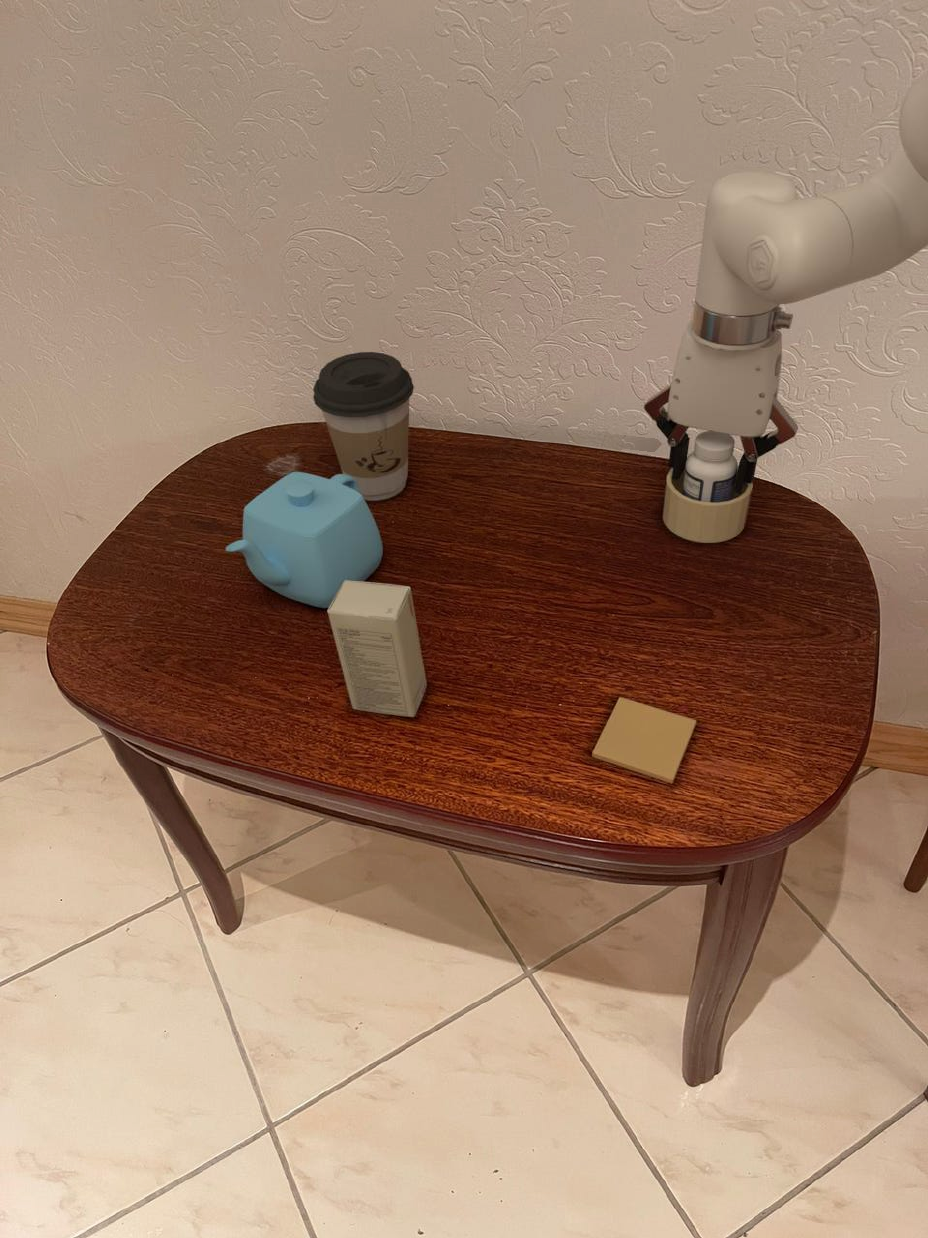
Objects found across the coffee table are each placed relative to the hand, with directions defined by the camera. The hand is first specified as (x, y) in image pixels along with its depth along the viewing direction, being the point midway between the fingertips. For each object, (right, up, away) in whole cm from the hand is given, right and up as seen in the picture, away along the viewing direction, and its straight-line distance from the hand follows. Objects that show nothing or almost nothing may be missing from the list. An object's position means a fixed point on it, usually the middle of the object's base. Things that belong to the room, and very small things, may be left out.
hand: (709, 478), depth 96 cm
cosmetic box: (-33, -23, -14) cm, 43 cm away
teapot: (-43, -12, -1) cm, 44 cm away
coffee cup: (-37, +1, +13) cm, 39 cm away
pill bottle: (0, -4, +3) cm, 5 cm away
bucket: (0, -4, +4) cm, 5 cm away
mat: (-11, -26, -19) cm, 34 cm away
